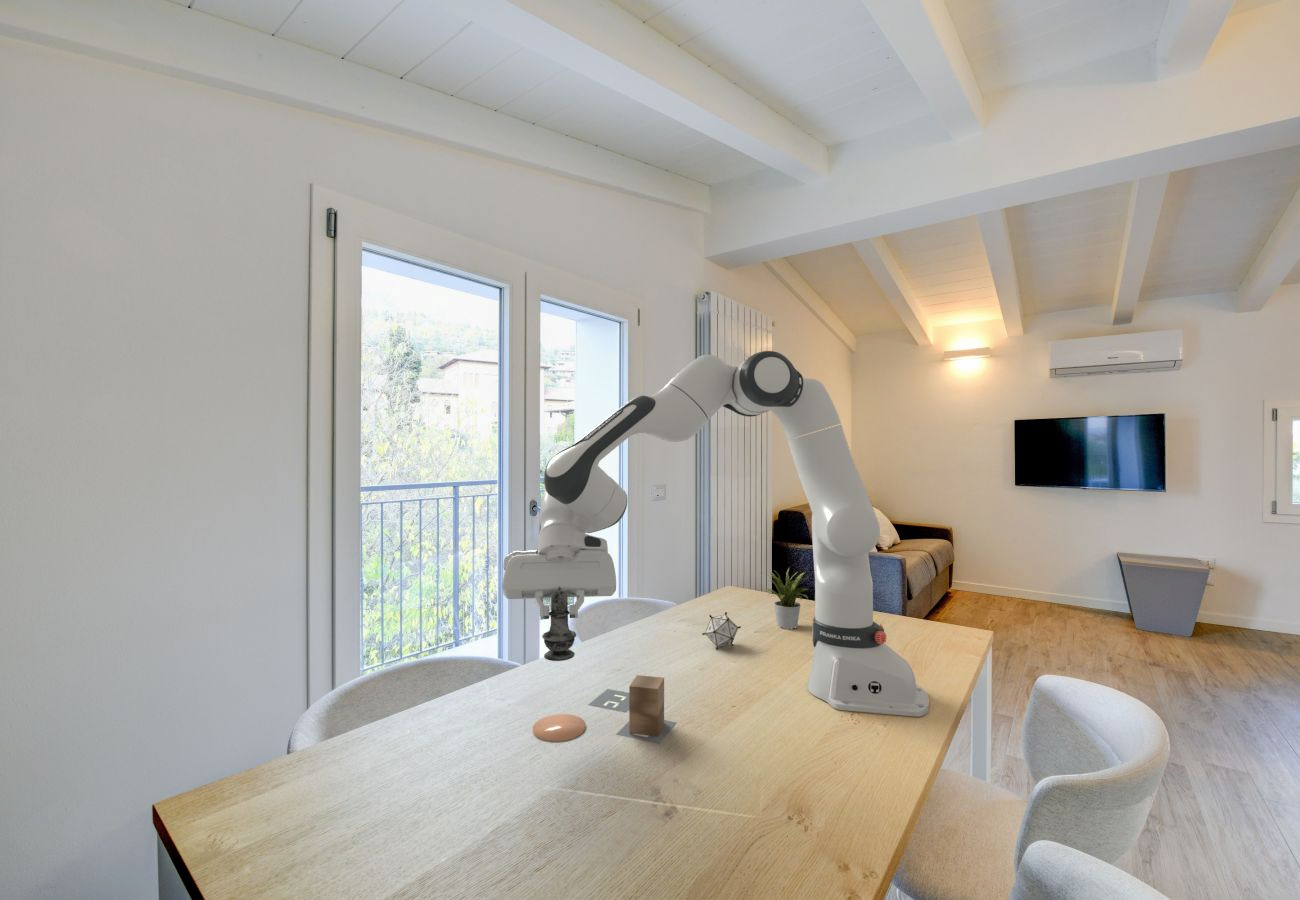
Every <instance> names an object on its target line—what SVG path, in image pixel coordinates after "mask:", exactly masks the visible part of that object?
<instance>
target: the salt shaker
mask: <svg viewBox="0 0 1300 900" xmlns="http://www.w3.org/2000/svg"><path fill="white" fill-rule="evenodd" d="M568 599H569V597H567V594H566V593H565V592H562V591H561V587H560V586H559V587H558V591H557V592H555V593H553V594H552V596H551V598H550V602H551V603H550V605H551V606H550V608H551V609H550V611H549V617H550V627H549V630H548V631H546V632H544V633H542V636H541V637H542V639H543V641H544V645H545V647H546V648H547V649H548V651H547V652H544V655H543V657H544V659H545V660H548V661H552V662H562V661H568V660H570V659H573V658H574V657H575V655H576V653H575V652H574V651H573V650H571V649H570V648H572V646H574V643H575V638H576V637H577V633H576V631H573V630H571V629H570V626H569V616H570V610H568V607H569V606H568V602H569V601H568Z"/></svg>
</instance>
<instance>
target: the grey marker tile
mask: <svg viewBox="0 0 1300 900" xmlns="http://www.w3.org/2000/svg"><path fill="white" fill-rule="evenodd" d="M587 706H591V707H595V708H601V709H607V710H610V711H611V710H612V711H616V712H620V713H628V712H629V692H627V691H621V690H615V689H612V688H611V689H609V688H606V689H605V690H604V691H603V692H602V693H600V694H599V695H597V697H595V698H594V699H593V700H592V701H591V702H589V703H588V704H587Z"/></svg>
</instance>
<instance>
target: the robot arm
mask: <svg viewBox="0 0 1300 900" xmlns="http://www.w3.org/2000/svg"><path fill="white" fill-rule="evenodd" d="M722 407H723V408H726V409H728V410H730V411H732V412H734V413H735V414H737V415H740V416H743V417H756V416H760V415H762V414H765V413H767V412H771V413H773V414H775V416H776V417H777V418H778V419H779V421H780V422H781V424H782V425H781V426H783V429H784V430H783V431H784V433H785V437H786V441H787V444H788V447H789V450H790V454H791V457H792V459H793V462H794V463H793V464H794V466H795V469H796V473H797V475H798V478H799V481H800V483H801V487H802V488H803V491H804V495H805V496H806V499H807V502H808V505H809V508H810V511H811V537H812V554H813V555H812V556H813V569H814V571H813V572H814V591H815V592H814V611H815V612H814V615H815V616H814V617H813V619H812V625H811V626H812V630H811V632H812V634H811V635H812V637H811V638H812V645H813V655H812V656H813V657H812V663H811V668H810V673H809V676H808V681H807V684H806V688H807V690H808V692H809V693H810V694H812V695H813V696H815V697H817V698H818V699H820V700H823V701H824V702H827V703H828V704H829V706H831V707H833V708H834V709H836V710H840V711H848V712H849V711H850V712H860V713H870V714H882V715H883V714H884V715H894V716H895V715H896V716H905V717H907V716H908V717H917V718H918V717H922V716H924V715H925V714H927V713H928V712H929V710H930V700H929V696H928V694H927V691H926V690H925V689H924V688H922V686H920V685H919V684H917V683H916V682H917V681H916V677H915V674H914V670H913V668H912V667H911V665H910V663H909V662H908V661H907V660H906V659H905V658H904V657H902V656H901V655H900V654H899V653H897V652H896V651H895V650H893V648H891V647H889V646H888V645H887V644H886V641H887V635H886V633H885V628H883V624H881V623H880V624H878V623H876V621H874V583H873V578H872V573H871V572H872V571H871V566H870V565H871V564H870V557H869V553H870V552H871V551H872V550H873V549H874V548H875V547H876V546H877V544H878V542H879V539H880V535H881V528H880V527H881V526H880V523H879V522H880V521H879V519H878V517H877V515H876V512H875V509H874V507H873V504H872V502H871V498H870V497H869V494H868V492H867V489H866V487H865V484H864V482H863V480H862V477H861V476H860V474H859V472H858V471H859V470H858V469H857V466H856V464H855V462H854V461H855V460H854V459H853V456H852V452H851V450H850V447H849V444H848V441H847V438H846V434H845V432H844V429H843V426H842V422H841V419H840V416H839V414H838V412H837V409H836V406H835V405H834V401H833V400H832V398H831V396H830V394H829V392H828V390H827V388H826V387H825V386H824V384H823V383H822V382H821V381H820V380H818V379H815V378H809V377H807V378H804V377H803V375H802V374H801V373H800V371H798V370H797V369H796V368H795V366H794V365H793V364H792V362H791V361H790V360H789V358H787V357H786V356H785V355H784V354H782V353H780V352H778V351H774V350H764V351H763V350H762V351H759V352H756V353H753V354H752V355H750V356H749V357H747V359H745V360H744V361H743V362H741V363H740V364H739V365H737V366H731V365H729V364H728V363H726V362H725V361H724V360H723V359H721V358H720V357H719V356H715V355H712V354H702V355H700V356H698V357H696V358H694V360H692V361H691V362H690V363H688V364H687V365H685V366H684V367H683V368H681V370H680V371H679V372H678V373H676V375H675V376H673V377H672V379H670V381H669V382H668V383H667V384H665V386H664V387H662V388H661V389H660V390H658V391H657V392H655V393H654V394H652V395H649V396H647V395H639V396H636V397H634V398H632V399H631V400H629V401H628V402H626V403H625V404H624V405H622V406H621V407H619V408H618V409H616V411H614V412H613V413H611V414H610V415H609V416H608V417H606V418H605V419H604V420H603V421H602V422H600V423H599V424H598V425H596V426H595V427H594V428H592V429H591V430H590V431H589V432H587V433H586V434H585V435H583V437H581V438H580V439H579V440H577V441H576V442H574V443H572V444H571V445H570V446H568V447H566V448H564V449H562V450H560V451H559V452H558V453H556V454H555V455H553V456H552V457H551V458H550V460H548V462H547V464H546V466H545V469H544V474H543V475H544V476H543V477H544V478H543V481H544V482H543V483H544V492H543V494H542V498H541V502H540V510H539V524H540V530H539V533H538V541H537V550H524V551H521V550H515V551H513V552H511V553H510V554H509V553H508V555H506V556H505V557H504V559H503V570H504V574H503V579H502V585H501V588H502V589H501V590H502V593H503V595H504V597H505V598H506V599H507V600H523V599H524V600H525V599H526V600H527V599H534V602H535V605H536V607H538V609H539V611H540V612H539V616H540V617H539V618H540V620H549V619H550V615H549V613H550V605H545V604H544V599H551V596H552V594H553V593H555V592H557V591H558V587H559V586H560V587H561V591H562V592H565V593H566V594H567V597H568V598H575V599H576V600H575V602H574V604H569V612H570V614H569V619H578V618H579V610H580V608H581V607H582V606H583V604H584V603H585V598H591V597H612V596H613V595H614V594H615V593H616V590H617V574H616V567H615V564H614V559H613V558H612V555H611V554H610V553H609V548H608V541H607V540H606V539H605V538H602V537H598V536H593V535H592V533H596V532H599V531H603V530H605V529H609V528H611V527H613V526H614V525H616V524H618V523H619V522H620V521H621V519H622V518H623V517H624V515H625V513H626V509H627V507H628V494H627V493H626V491H625V489H623V487H621V486H620V484H618V482H617V481H615V480H614V479H613V478H612V477H611V476H609V475H608V473H606V472H605V470H603V468H602V467H600V466H599V463H600V462H601V461H602V460H603V459H604V458H605V457H606V456H608V455H609V454H610V453H611V452H612V451H614V450H615V449H616V448H617V447H619V446H620V445H621V444H622V443H624V442H625V441H626V440H627V439H628V438H630V437H631V436H634V435H638V434H646V435H650V436H653V437H655V438H658V439H659V440H660V439H661V440H663V441H667V442H673V443H677V442H679V443H680V442H685V441H688V440H689V439H691V438H693V437H694V436H695V435H697V433H699V431H701V430H702V429H703V427H704V426H705V425H706V424H707V422H709V421H710V419H711V418H712V417H713V416H714V415H715V414H716V413H717V412H718V411H719V410H720V409H721V408H722ZM590 534H591V535H590Z"/></svg>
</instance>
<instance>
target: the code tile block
mask: <svg viewBox="0 0 1300 900" xmlns="http://www.w3.org/2000/svg"><path fill="white" fill-rule="evenodd" d="M677 723H678V722H676V721H671V720H666V719H664V725H663V727H662V729H661V731H660V733H659V736H658V737H657V736H648V735H640V734H631V733H629V721H628V722H626V724H625V725H624V726H623V727H621V728H620V730H618V731H617V732H616V735H618V736H623V737H627V738H631V739H636V740H641V741H645V742H651V743H654V744H659V745H660V744H661V743H662V741H664V740H665V738H666V737H667V736H668V734H669V733H670V732H671V731H672V729H673V728H674V727H675V725H676V724H677Z"/></svg>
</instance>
